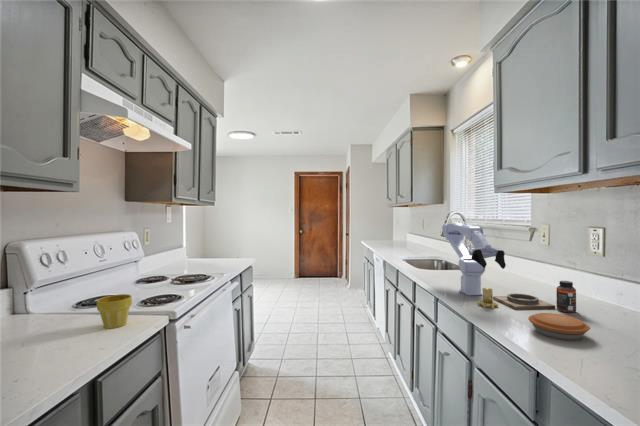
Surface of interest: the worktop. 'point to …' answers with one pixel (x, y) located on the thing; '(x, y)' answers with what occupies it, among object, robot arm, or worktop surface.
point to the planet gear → (487, 299)
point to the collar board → (522, 306)
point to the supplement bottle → (566, 297)
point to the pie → (559, 326)
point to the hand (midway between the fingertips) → (494, 266)
